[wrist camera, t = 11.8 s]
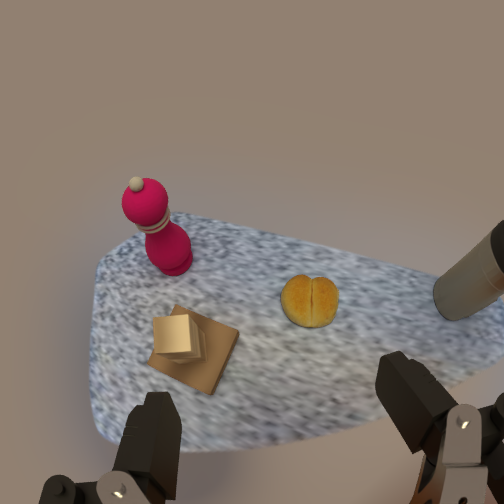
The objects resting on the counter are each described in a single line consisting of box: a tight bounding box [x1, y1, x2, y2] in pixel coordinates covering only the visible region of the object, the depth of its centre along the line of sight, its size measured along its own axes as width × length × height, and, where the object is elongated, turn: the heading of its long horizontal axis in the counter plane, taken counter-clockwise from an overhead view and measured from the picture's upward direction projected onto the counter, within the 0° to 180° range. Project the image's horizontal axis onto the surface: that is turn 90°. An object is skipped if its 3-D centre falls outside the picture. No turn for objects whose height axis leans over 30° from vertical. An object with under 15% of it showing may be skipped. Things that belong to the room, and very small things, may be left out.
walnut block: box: [147, 304, 239, 395], centre depth 38 cm, size 10×10×3 cm
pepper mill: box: [122, 177, 193, 276], centre depth 38 cm, size 7×7×20 cm
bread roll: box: [281, 275, 339, 328], centre depth 41 cm, size 8×9×4 cm
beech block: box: [153, 314, 207, 364], centre depth 32 cm, size 4×4×10 cm
